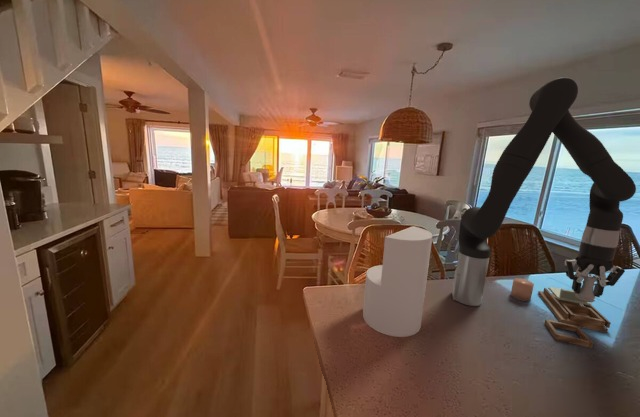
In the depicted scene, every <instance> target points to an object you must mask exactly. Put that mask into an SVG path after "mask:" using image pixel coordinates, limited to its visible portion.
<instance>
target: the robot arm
mask: <svg viewBox="0 0 640 417" xmlns="http://www.w3.org/2000/svg"><path fill="white" fill-rule="evenodd" d="M578 93H579V86H578V84H577V82H576V81H575V80H574V79H573V78H571V77H566V76H565V77H558V78H555V79H552V80H550V81H548V82H546V83H545V84H544V85H543V86H541V87H540V88H539V89H537V90H536V91H535V92H534V93H533V94H532V95H531V97H530V99H529V104H528V105H529V109H530V110H531V113H530V115H529V117H528V118H527V120H526V122H525V124H523V126H522V127H521V128H520V129H519V131H517V133H516V134H515V135H514V137H513V138H512V139H511V140H510V142H509V143H508V144H507V145H506V147H505V148H504V150H503V151H502V153H501V155H500V156H499V159H498V160H497V162H496V164H495V166H494V168H493V171H492V174H491V175H492V176H491V184H490V188H489V192H488V195H487V197H486V198H485V200H484V201H483V203H482V205H481V206H480V207H479V206H472V207H469V208H467V209H466V210H465V211H464V212H463V214H462V215H461V219H460V223H459V230H458V231H459V233H458V246H459V248H458V256H457V262H456V268H455V271H454V274H453V275H454V276H453V282H452V283H453V284H452V289H451V295H452V296H451V297H452V300H453V301H455V302H458V303H460V304H462V305H466V306H469V307H479V306H481V304H482V302H483V297H484V291H485V286H486V280H487V273H488V268H489V264H490V263H489V261H490V257H491V247H490V245H489V243H488V239H490V238H491V237H493V236H495V235H496V234H497V232H498V231H499V230H500V229H501V227H502V224H503V222H504V220H505V218H506V215H507V213H508V211H509V208H510V206H511V204H512V202H513V201H514V199H515V198H516V196H517V194H518V192H520V189H521V187H522V186H523V184H524V182H525V180H526V179H527V177H528V176H529V175H530V174H531V173H530V172H531V171H532V169H533V167H534V166H535V164H536V162H537V161H538V159H539V157H540V155H541V154H542V152H543V151H544V148H545V146H546V145H547V143H548V141H549V139H550V137H551V135H552V134H553V135H554V136H555V138H557V139H558V141H559V142H560V143H561V144H562V145H563V147H564V148H565V149H566V151H567V152H568V154H569V155H570V157H571V158H572V160H573V161H574V163H575V164H576V166H577V167H578V169H579V170H580V171H581V172H582V173H583V175H585V176H588V177H589V178H590V179H591V180H592V182H593V184H592V185H591V187H590V189H589V190H590V191H589V204H588V205H589V206H588V207H589V212H588V216H587V221H586V224H585V228H584V230H583V233H582V235H581V241H580V243H579V244H580V245H579V249H578V255H577V257H576V258H574V259H568V258H565V259H563V265H564V271H565V276H566V277H568V278H569V279H570V280H572V285H571V290H572V291H574V292H575V293H577V294H579V293H580V289H581V287H582V285H583V282H582V281H584V277H586V276H587V275H588V276H589V274H590V275H594V276H595V277H596V279H597V281H596V283H595V282H594V284H595V285H594V287H593V293H594V296H595V298H600V297H601V296H603V295H604V291H605V290H604V289H605V287H607V286H610V287H614V286H615V284H617V282H618V281H619V279H620V278H621V277H622V275H624V273H625V271H626V270H625V269H623V268H622V267H620V266H618V265H614V264H613V260H614V258H615V255H616V251H617V248H618V245H619V239H620V230H621V227H622V223H623V220H624V213H623V211H622V210H620V204H621V203H620V202H626V201H627V200H630V199H631V198H632V197H634V196H635V194H636V191H637V187H636V184H635V182H634V180H633V178H631V176H630V175H629V174H628V173H627V172H626V170H624V169H623V168H622V167H621V166H620V165H619V164H618V163H617V162H616V161H615V160H614V159H613V157H612V156H611V155H610V154H611V153H610V152H609V151H608V150H607V148H606V147H605V146H604V144H603V143H602V141H601V140H600V139H599V138H598V137H597V136H596V135H595V134H593V133H592V132H591V131H589V130H588V129H586V128H585V127H583V126H582V125H581V124H580V123H579V122H578V121H577V120H576V118H574V117H573V116H572V114H571V112H570V111H569V110H570V108H571V107H572V106H573V104H574V102H575V101H576V99H577V97H578ZM575 265H576V266H578V267H577V269H576V270H575V272H574V267H575ZM608 271H610V272H609V274H608V275H607V276H606V273H607V272H608Z"/></svg>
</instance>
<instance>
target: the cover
mask: <svg viewBox="0 0 640 417" xmlns="http://www.w3.org/2000/svg"><path fill="white" fill-rule="evenodd" d="M547 290H548V291H549V292H550V293H553V294H554V295H555V297H556V298H557V299H559V300H564V301H569V302H574V303H579V304H582V305H583V304H585V305H592V302H585V301H582V300H580V299H578V298H577V297H576V296H575V295H576V294H577V293H575V292H574V291H573V290H572V289H571V290H570V289H564V288H559V287H558V288H557V287H552V286H548V289H547Z"/></svg>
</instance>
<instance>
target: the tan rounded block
mask: <svg viewBox="0 0 640 417" xmlns="http://www.w3.org/2000/svg"><path fill="white" fill-rule="evenodd" d="M534 286H535V284H534V282H532V281H530V280H529V279H524V278H519V277H515V278H513V280H512V285H511V289H510V290H511V291H510V296H511V297H513V299H514V298H515V299H516V298H517V299H516V300H520V301H523V302H530V301H531V299H532V295H533V290H534Z"/></svg>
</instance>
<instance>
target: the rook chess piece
mask: <svg viewBox="0 0 640 417" xmlns="http://www.w3.org/2000/svg"><path fill="white" fill-rule="evenodd" d="M596 281H597V279H596V277H595V275H594V274H588V275H587V276H586V277H584V279H583V280H582V281H581V283H582V285H581V289H580V293H579V294H576V295H575V296H576V297H577V298H578V299H580V300H582V301H585V302H589V303H593V302H596V300H595V299H596V297H595V296H594V293H593V290H594V286H595V282H596ZM596 283H597V282H596Z"/></svg>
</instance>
